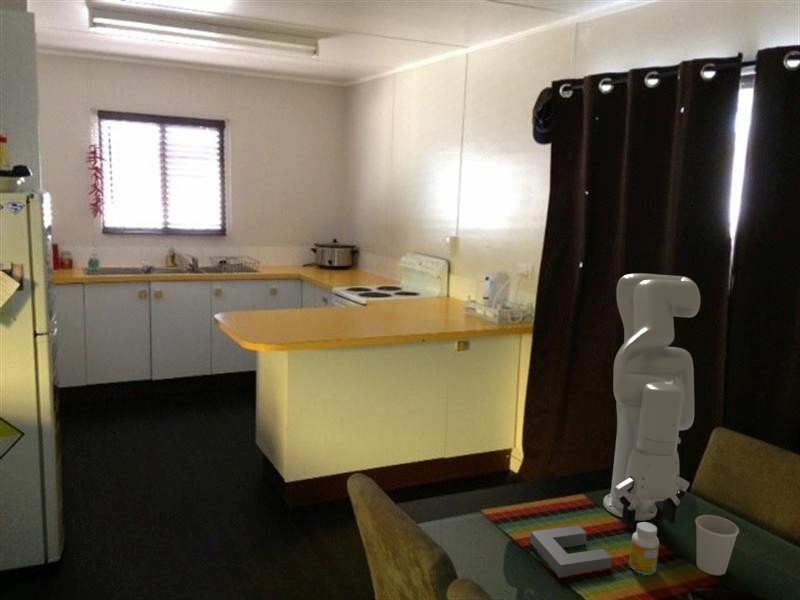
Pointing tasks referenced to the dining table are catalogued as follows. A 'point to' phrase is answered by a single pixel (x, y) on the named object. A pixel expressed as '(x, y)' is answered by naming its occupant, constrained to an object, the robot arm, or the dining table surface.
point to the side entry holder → (562, 562)
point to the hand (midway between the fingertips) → (648, 522)
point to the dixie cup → (714, 543)
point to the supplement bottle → (644, 548)
